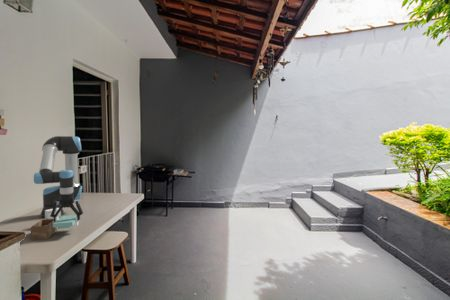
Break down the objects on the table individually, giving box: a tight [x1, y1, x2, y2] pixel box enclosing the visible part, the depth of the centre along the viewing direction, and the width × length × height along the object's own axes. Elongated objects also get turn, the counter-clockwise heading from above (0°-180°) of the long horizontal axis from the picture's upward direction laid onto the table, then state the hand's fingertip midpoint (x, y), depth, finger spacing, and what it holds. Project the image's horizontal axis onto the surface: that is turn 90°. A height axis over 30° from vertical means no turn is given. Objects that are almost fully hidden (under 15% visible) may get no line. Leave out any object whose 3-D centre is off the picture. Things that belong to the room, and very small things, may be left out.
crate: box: [30, 218, 58, 241], centre depth 154 cm, size 14×9×8 cm, turn 15°
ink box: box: [44, 208, 62, 219], centre depth 171 cm, size 9×5×12 cm, turn 141°
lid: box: [53, 214, 77, 230], centre depth 157 cm, size 15×11×4 cm
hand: (67, 225), depth 157 cm, fingers closed on lid, 11 cm apart
